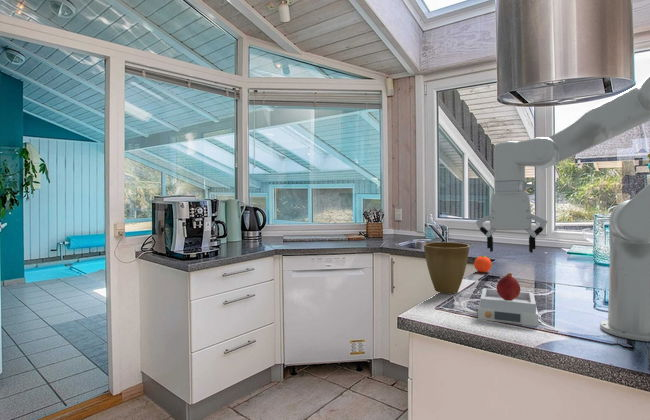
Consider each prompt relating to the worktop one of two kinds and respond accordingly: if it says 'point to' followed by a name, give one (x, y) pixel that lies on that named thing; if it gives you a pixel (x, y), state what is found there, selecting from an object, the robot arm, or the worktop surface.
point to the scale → (508, 308)
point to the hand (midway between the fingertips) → (510, 251)
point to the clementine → (482, 264)
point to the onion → (508, 287)
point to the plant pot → (446, 265)
